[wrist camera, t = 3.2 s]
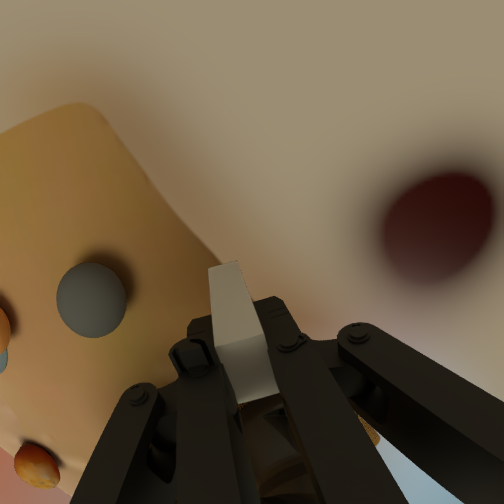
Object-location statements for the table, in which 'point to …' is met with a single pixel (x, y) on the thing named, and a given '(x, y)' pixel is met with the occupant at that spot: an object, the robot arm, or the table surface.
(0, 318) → the orange ball
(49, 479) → the fruit
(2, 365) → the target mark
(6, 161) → the table surface
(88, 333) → the dark grey ball
